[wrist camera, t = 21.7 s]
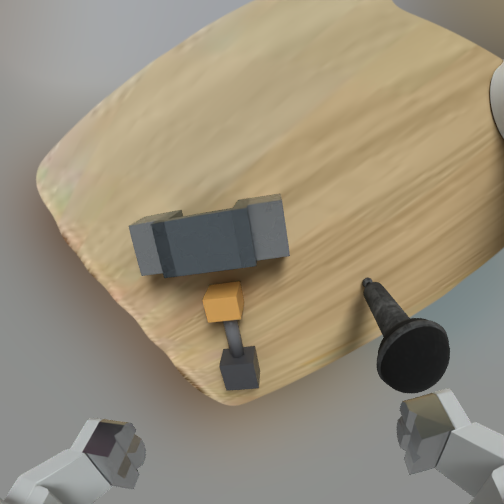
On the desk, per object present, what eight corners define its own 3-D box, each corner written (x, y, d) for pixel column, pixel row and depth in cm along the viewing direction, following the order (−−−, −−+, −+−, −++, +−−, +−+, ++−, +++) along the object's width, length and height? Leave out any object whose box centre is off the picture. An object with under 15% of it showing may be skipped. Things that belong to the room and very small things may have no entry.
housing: (280, 193, 37) (282, 202, 30) (287, 242, 39) (290, 261, 32) (144, 216, 39) (122, 229, 32) (155, 261, 40) (136, 281, 34)
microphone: (398, 286, 39) (470, 378, 20) (356, 313, 41) (402, 421, 22) (376, 245, 38) (453, 325, 19) (331, 274, 39) (373, 377, 20)
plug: (241, 280, 40) (238, 296, 36) (260, 370, 45) (258, 390, 40) (207, 285, 41) (200, 300, 37) (229, 372, 45) (226, 392, 41)
